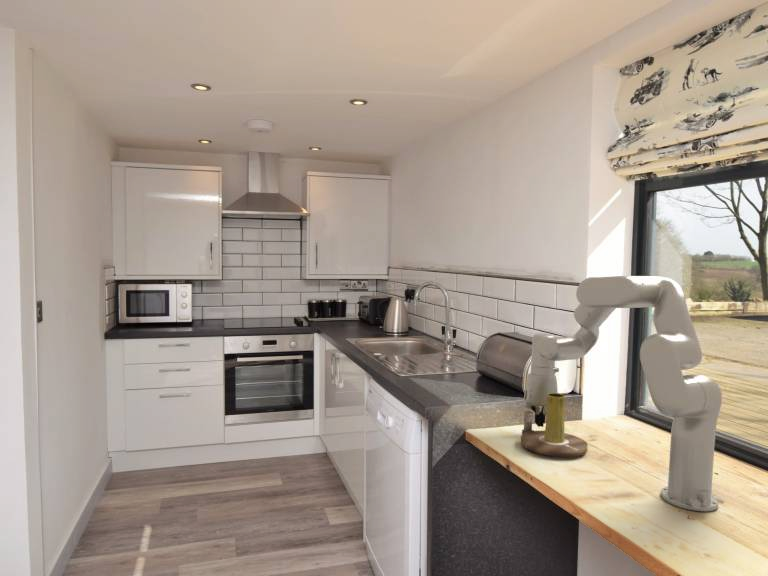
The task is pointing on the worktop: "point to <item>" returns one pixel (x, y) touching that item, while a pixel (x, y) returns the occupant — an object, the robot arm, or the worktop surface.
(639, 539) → the worktop surface
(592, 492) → the worktop surface
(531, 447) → the turntable
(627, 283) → the robot arm
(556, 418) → the vase
